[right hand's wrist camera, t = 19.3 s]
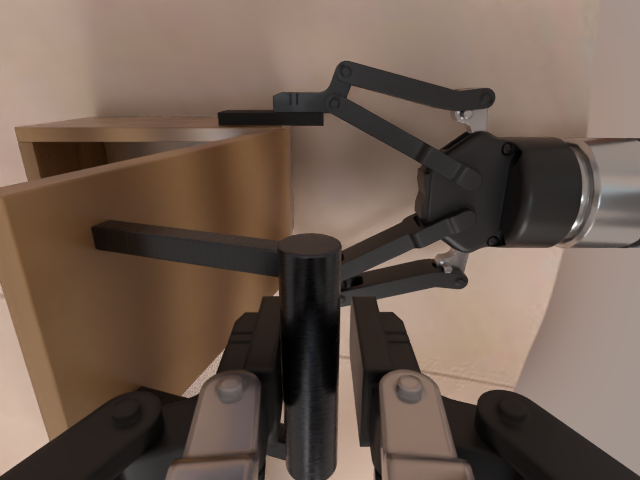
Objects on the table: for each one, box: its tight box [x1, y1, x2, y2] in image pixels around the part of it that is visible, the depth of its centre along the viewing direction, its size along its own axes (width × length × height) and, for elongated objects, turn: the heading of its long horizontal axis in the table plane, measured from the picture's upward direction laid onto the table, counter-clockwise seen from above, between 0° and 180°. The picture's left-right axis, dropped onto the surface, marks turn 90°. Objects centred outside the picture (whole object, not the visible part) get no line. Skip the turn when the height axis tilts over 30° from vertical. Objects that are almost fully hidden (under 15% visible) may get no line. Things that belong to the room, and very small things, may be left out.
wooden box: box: [15, 117, 294, 236], centre depth 29 cm, size 16×9×9 cm, turn 90°
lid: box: [0, 128, 342, 480], centre depth 17 cm, size 16×9×8 cm
